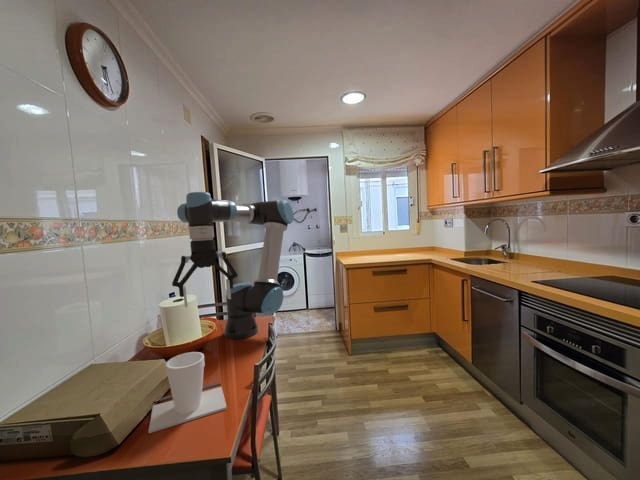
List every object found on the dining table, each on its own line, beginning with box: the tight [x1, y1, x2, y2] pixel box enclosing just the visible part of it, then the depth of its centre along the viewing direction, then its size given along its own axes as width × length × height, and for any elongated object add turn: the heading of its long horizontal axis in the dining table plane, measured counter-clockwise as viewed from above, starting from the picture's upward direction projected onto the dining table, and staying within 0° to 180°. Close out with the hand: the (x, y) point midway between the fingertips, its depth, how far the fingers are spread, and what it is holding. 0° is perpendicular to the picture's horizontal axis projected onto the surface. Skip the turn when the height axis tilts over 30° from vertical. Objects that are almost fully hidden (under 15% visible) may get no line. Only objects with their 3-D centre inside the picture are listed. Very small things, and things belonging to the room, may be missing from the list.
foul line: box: [159, 381, 222, 403], centre depth 83 cm, size 18×1×1 cm, turn 116°
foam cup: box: [165, 351, 206, 414], centre depth 75 cm, size 10×9×13 cm
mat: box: [148, 386, 227, 434], centre depth 76 cm, size 18×11×1 cm, turn 116°
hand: (208, 302), depth 94 cm, fingers open, 13 cm apart
